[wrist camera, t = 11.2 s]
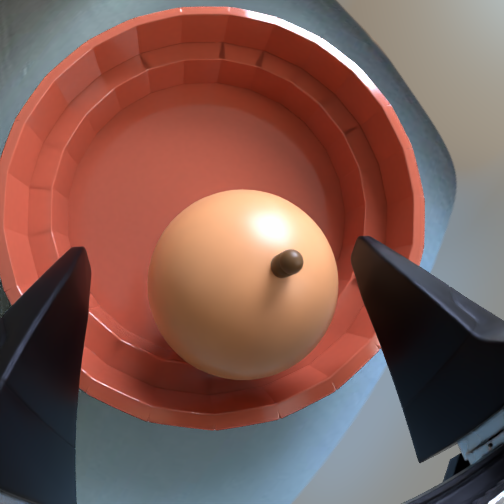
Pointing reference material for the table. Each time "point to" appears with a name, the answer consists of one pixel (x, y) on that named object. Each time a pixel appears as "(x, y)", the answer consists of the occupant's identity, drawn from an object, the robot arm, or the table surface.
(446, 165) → the table surface
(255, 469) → the table surface
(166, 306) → the peach
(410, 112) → the table surface
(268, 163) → the bowl
